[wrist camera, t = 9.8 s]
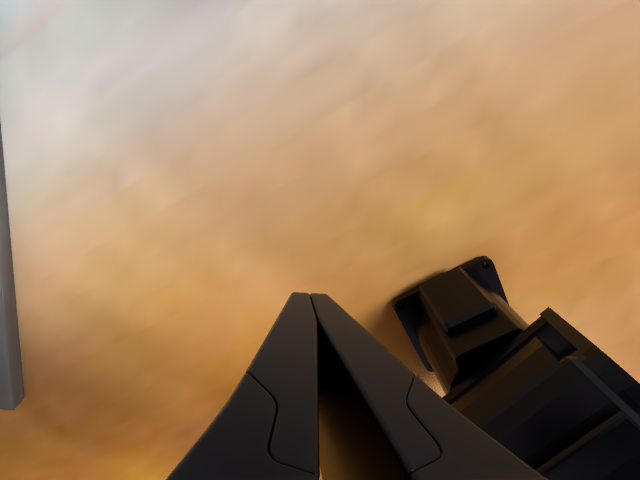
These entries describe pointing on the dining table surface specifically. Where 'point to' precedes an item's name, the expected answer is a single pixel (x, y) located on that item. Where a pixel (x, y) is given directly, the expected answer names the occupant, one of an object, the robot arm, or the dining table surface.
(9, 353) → the slate board
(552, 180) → the dining table surface
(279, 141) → the dining table surface
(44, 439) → the dining table surface
